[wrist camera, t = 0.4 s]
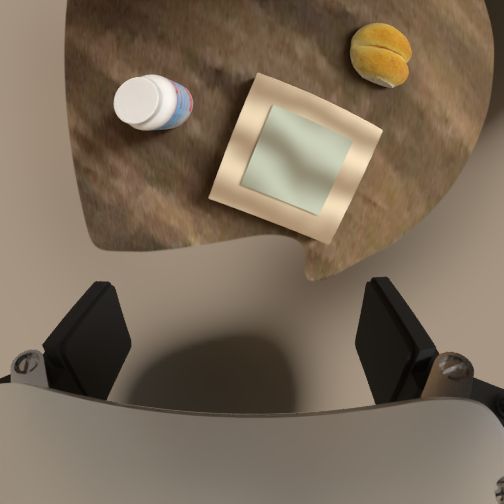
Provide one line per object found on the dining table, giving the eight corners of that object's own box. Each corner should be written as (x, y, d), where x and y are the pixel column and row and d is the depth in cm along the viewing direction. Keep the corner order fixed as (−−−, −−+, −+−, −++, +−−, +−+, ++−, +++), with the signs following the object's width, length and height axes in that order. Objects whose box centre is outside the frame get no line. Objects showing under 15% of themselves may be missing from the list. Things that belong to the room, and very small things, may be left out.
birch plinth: (257, 76, 31) (257, 72, 28) (373, 129, 33) (383, 130, 30) (212, 192, 38) (207, 198, 34) (324, 236, 40) (329, 245, 37)
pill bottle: (203, 105, 33) (180, 98, 23) (168, 138, 35) (133, 145, 24) (173, 74, 31) (139, 57, 21) (139, 106, 33) (96, 104, 23)
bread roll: (409, 40, 27) (422, 34, 24) (399, 94, 31) (412, 92, 28) (354, 16, 27) (363, 7, 23) (342, 72, 31) (351, 67, 27)
